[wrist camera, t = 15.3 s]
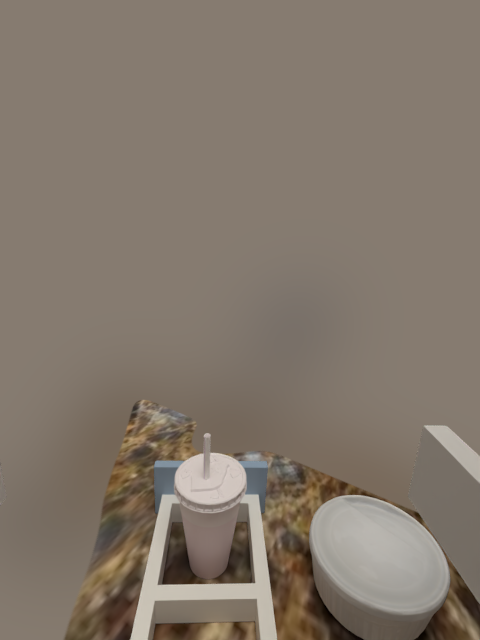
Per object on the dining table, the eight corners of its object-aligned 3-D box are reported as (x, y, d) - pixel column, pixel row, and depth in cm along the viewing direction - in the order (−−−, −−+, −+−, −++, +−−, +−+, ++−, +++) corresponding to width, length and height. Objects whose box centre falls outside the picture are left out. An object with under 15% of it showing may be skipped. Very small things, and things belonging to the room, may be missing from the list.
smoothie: (160, 563, 32) (156, 434, 28) (207, 520, 37) (210, 404, 33) (210, 611, 29) (214, 469, 25) (255, 556, 33) (264, 430, 30)
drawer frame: (263, 505, 39) (266, 461, 38) (302, 781, 20) (312, 715, 18) (157, 506, 39) (155, 460, 37) (91, 792, 19) (82, 724, 18)
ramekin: (421, 551, 35) (432, 509, 33) (455, 689, 25) (472, 637, 23) (309, 522, 38) (314, 482, 36) (297, 635, 27) (304, 585, 26)
